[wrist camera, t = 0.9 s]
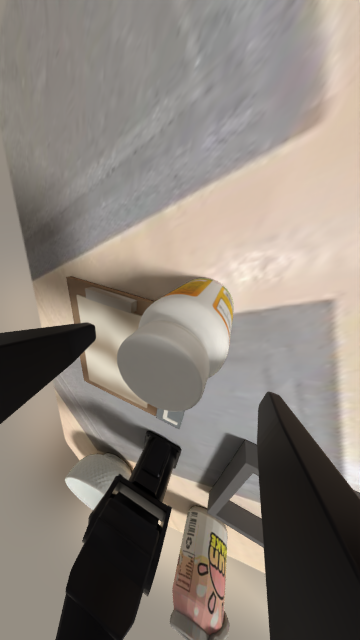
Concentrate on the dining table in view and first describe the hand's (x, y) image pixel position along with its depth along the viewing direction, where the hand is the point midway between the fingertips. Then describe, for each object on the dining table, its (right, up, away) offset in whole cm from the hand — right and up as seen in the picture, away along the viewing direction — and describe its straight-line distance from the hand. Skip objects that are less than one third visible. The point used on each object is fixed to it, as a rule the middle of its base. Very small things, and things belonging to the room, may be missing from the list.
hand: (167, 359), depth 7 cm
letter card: (-1, -11, +15) cm, 19 cm away
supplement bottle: (+3, +3, +7) cm, 9 cm away
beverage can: (+7, -40, +25) cm, 47 cm away
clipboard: (-8, -3, +14) cm, 16 cm away
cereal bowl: (-15, -34, +31) cm, 48 cm away
